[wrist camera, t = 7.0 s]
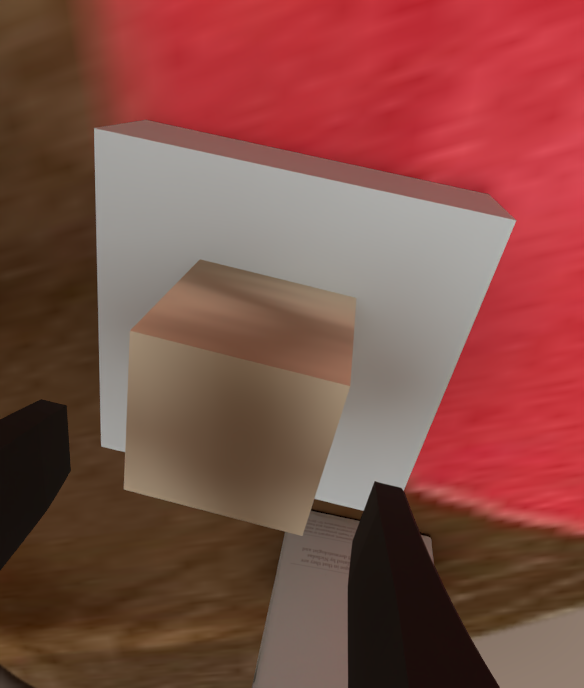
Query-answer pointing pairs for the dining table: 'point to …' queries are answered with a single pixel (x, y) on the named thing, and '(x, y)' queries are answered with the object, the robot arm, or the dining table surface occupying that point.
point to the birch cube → (237, 394)
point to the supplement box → (310, 608)
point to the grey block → (300, 271)
